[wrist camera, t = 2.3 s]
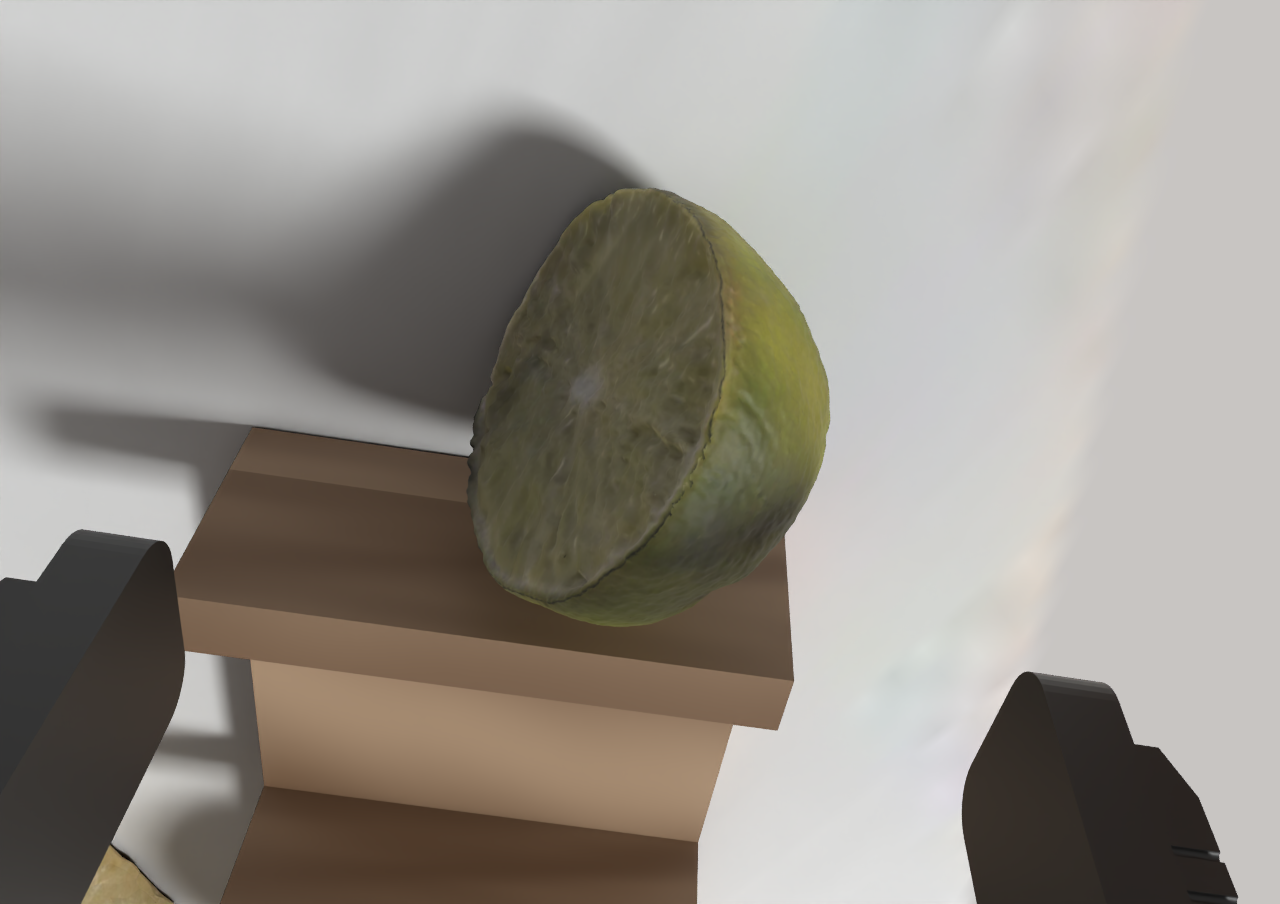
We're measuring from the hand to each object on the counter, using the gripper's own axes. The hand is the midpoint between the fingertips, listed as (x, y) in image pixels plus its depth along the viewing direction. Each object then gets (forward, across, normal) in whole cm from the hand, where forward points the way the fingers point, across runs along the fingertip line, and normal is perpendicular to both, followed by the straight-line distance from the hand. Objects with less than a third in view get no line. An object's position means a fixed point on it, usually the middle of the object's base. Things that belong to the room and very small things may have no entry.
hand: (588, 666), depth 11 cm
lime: (+6, 0, -1) cm, 6 cm away
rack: (+6, +1, +10) cm, 12 cm away
